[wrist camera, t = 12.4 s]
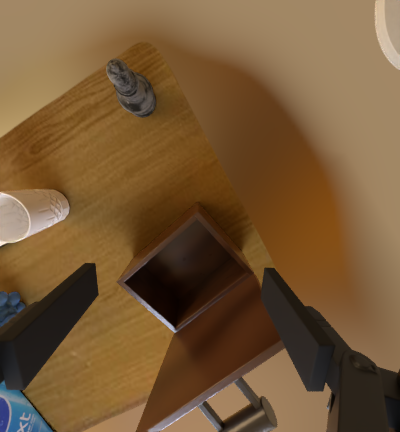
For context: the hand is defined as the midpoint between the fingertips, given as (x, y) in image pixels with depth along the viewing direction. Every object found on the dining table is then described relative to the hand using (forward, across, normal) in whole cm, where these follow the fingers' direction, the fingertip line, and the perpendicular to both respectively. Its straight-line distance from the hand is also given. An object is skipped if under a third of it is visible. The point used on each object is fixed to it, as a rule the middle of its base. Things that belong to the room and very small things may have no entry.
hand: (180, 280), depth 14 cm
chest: (+25, 0, -10) cm, 26 cm away
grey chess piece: (+25, -9, +20) cm, 33 cm away
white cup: (+25, -28, 0) cm, 37 cm away
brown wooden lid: (+8, +3, -14) cm, 16 cm away
